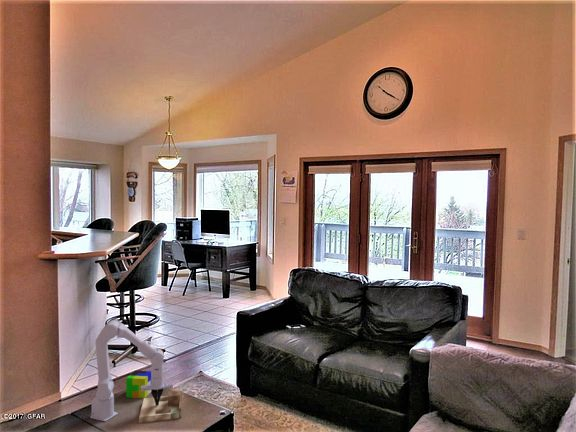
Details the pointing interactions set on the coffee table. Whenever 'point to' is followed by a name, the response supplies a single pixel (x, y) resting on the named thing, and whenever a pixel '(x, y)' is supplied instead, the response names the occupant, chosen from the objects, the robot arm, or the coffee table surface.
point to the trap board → (159, 409)
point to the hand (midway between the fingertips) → (157, 404)
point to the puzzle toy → (138, 384)
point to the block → (173, 398)
